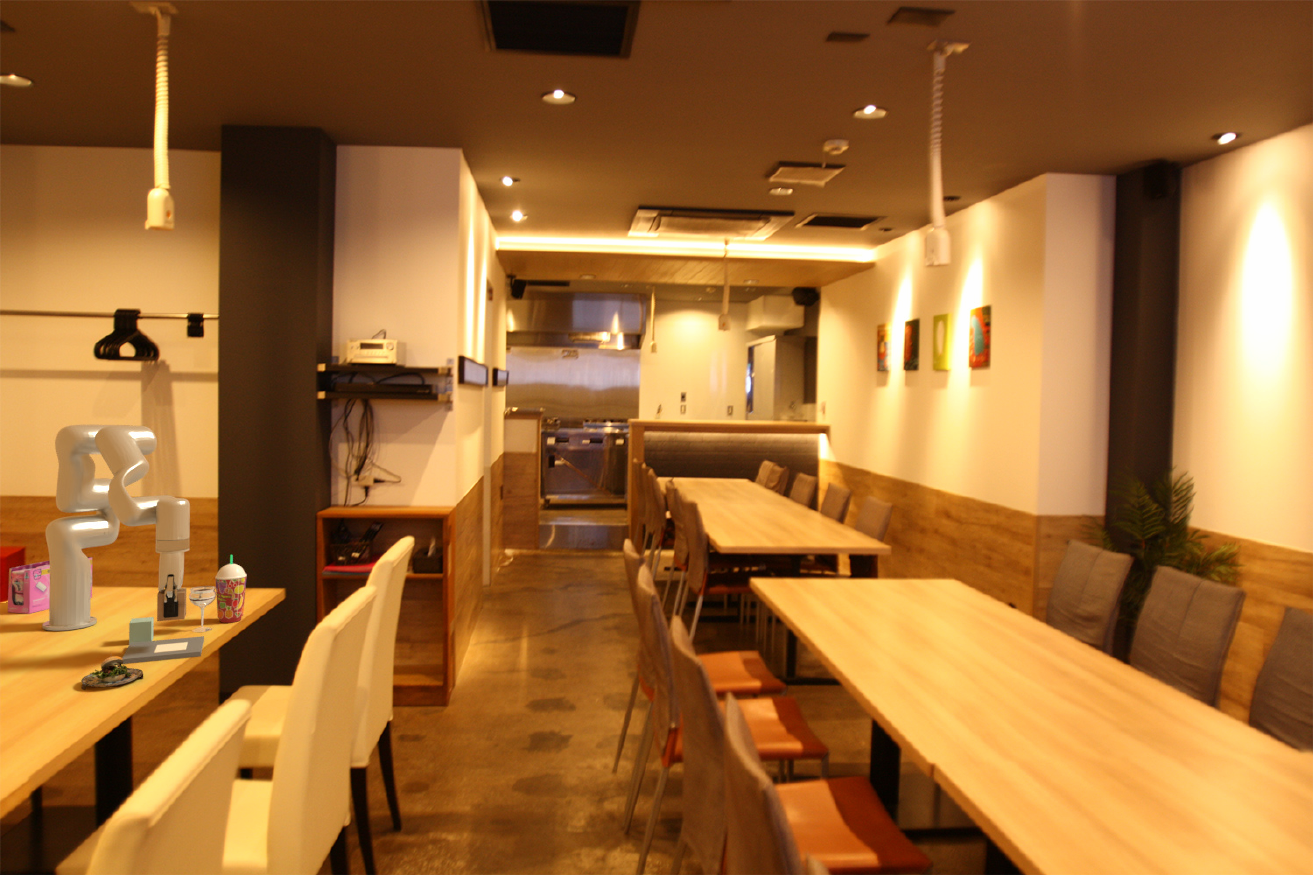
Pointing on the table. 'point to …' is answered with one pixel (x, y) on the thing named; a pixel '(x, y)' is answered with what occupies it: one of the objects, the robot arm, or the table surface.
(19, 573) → the gum box
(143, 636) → the teal block
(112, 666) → the burger
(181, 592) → the walnut block
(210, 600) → the wineglass
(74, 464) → the robot arm
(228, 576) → the smoothie
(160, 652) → the slate board
